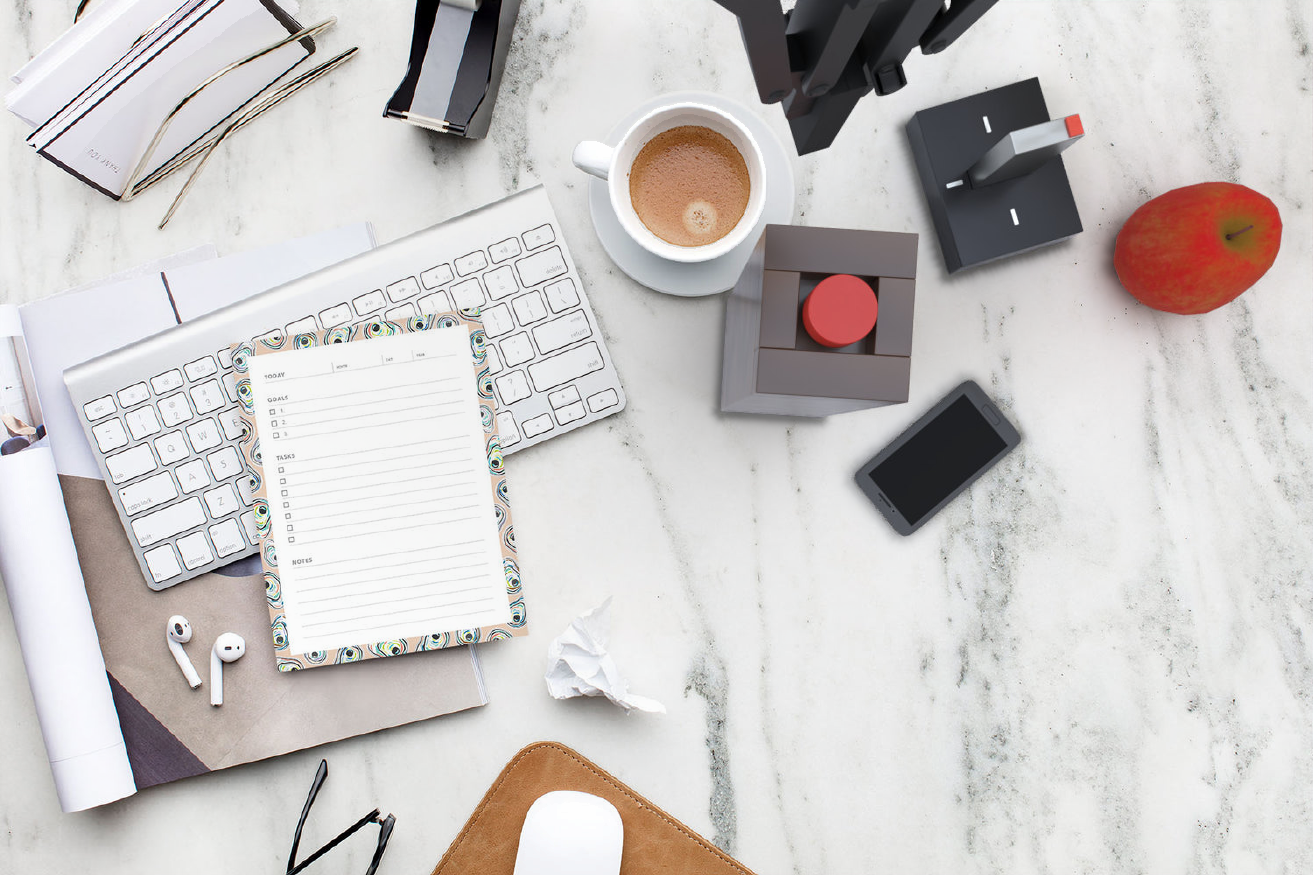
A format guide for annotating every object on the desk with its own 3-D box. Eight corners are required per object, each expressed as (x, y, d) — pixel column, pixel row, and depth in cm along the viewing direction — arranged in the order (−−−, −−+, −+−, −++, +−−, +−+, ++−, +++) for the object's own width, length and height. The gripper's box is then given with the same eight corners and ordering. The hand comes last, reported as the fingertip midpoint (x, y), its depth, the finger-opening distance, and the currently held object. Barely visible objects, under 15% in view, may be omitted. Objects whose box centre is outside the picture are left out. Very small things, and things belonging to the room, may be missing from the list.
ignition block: (727, 299, 70) (766, 223, 46) (827, 306, 70) (919, 233, 46) (720, 410, 70) (755, 393, 46) (820, 417, 70) (908, 402, 46)
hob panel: (904, 125, 70) (916, 110, 67) (1021, 91, 70) (1038, 75, 67) (948, 274, 70) (962, 266, 67) (1065, 240, 70) (1085, 230, 67)
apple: (1190, 339, 70) (1286, 321, 59) (1079, 291, 70) (1156, 263, 59) (1237, 230, 70) (1342, 191, 59) (1126, 182, 70) (1212, 134, 59)
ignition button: (804, 278, 46) (810, 271, 44) (871, 282, 46) (880, 276, 44) (800, 345, 46) (806, 341, 44) (867, 349, 46) (876, 346, 44)
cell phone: (1021, 439, 69) (1025, 439, 69) (902, 539, 69) (905, 540, 69) (968, 377, 70) (972, 376, 69) (850, 476, 69) (852, 476, 69)
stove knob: (972, 189, 67) (1017, 153, 59) (966, 169, 67) (1011, 130, 59) (1033, 172, 67) (1087, 134, 59) (1028, 152, 67) (1080, 111, 59)
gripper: (777, -115, 12) (694, 242, 36) (1548, -347, 13) (962, 161, 36) (641, -567, 12) (647, 87, 36) (1418, -798, 12) (916, 6, 36)
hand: (805, 124), depth 36 cm, fingers closed
